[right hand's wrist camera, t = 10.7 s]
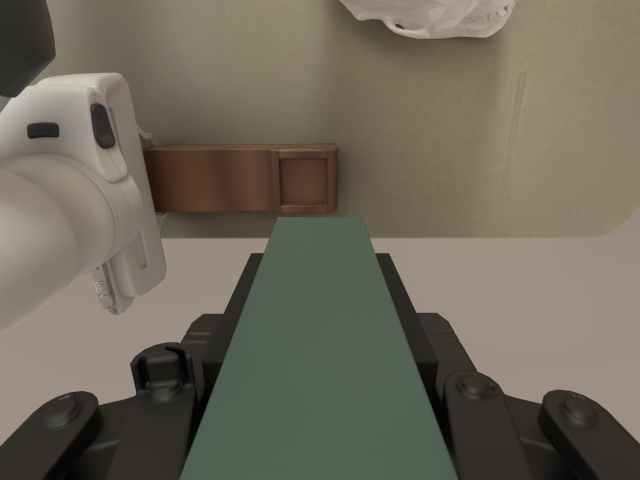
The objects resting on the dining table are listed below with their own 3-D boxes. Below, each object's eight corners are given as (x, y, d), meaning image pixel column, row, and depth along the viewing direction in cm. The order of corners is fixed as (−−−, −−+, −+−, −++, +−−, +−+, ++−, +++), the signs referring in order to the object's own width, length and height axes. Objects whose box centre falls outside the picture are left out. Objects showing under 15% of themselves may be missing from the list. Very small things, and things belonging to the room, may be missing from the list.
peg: (280, 291, 19) (185, 742, 5) (277, 216, 17) (138, 579, 4) (358, 291, 19) (452, 742, 5) (362, 216, 17) (498, 579, 4)
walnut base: (134, 201, 44) (107, 215, 38) (123, 145, 41) (93, 151, 36) (335, 199, 44) (337, 213, 38) (335, 143, 42) (338, 149, 36)
